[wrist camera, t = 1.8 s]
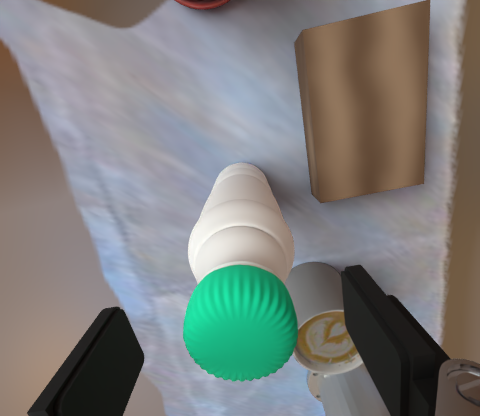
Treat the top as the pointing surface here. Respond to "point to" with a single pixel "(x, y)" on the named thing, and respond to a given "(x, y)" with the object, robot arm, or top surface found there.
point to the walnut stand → (365, 101)
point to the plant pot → (202, 3)
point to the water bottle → (241, 280)
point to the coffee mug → (321, 320)
